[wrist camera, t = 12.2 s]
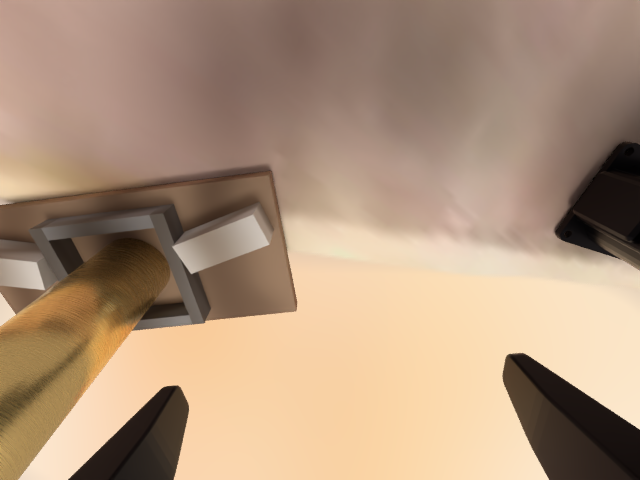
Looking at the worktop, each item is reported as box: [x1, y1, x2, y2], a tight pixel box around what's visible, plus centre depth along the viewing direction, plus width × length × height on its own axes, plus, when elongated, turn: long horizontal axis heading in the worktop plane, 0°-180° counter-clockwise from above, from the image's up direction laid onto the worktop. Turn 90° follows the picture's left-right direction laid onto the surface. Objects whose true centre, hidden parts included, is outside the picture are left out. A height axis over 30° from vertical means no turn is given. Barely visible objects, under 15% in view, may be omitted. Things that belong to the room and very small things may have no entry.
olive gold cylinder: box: [0, 238, 170, 480], centre depth 16 cm, size 4×4×12 cm
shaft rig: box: [0, 171, 297, 331], centre depth 21 cm, size 20×10×3 cm, turn 97°
